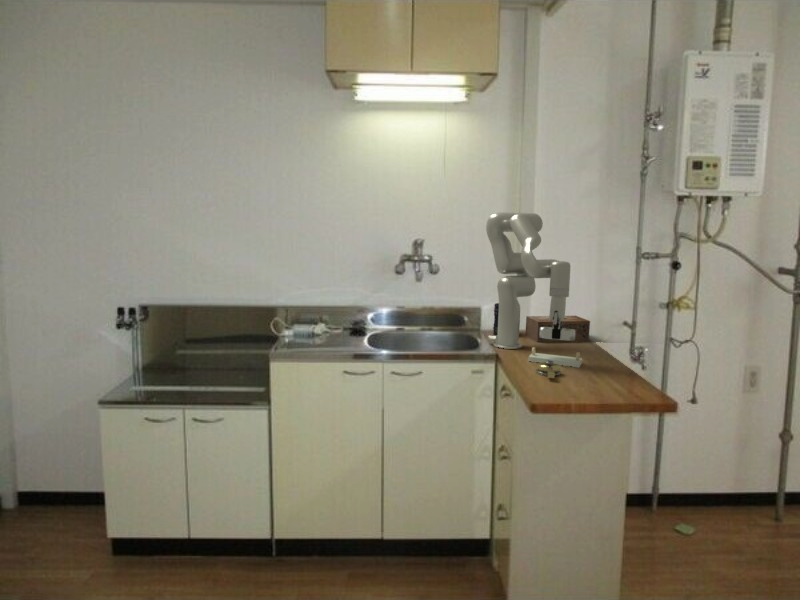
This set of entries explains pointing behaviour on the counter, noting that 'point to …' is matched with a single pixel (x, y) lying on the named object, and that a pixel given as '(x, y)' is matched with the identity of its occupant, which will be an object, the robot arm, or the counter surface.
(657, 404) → the counter surface
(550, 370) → the gold handled disc
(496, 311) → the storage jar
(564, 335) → the steel bar
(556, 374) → the round gray base
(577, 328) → the tissue box cover
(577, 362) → the peg rest
